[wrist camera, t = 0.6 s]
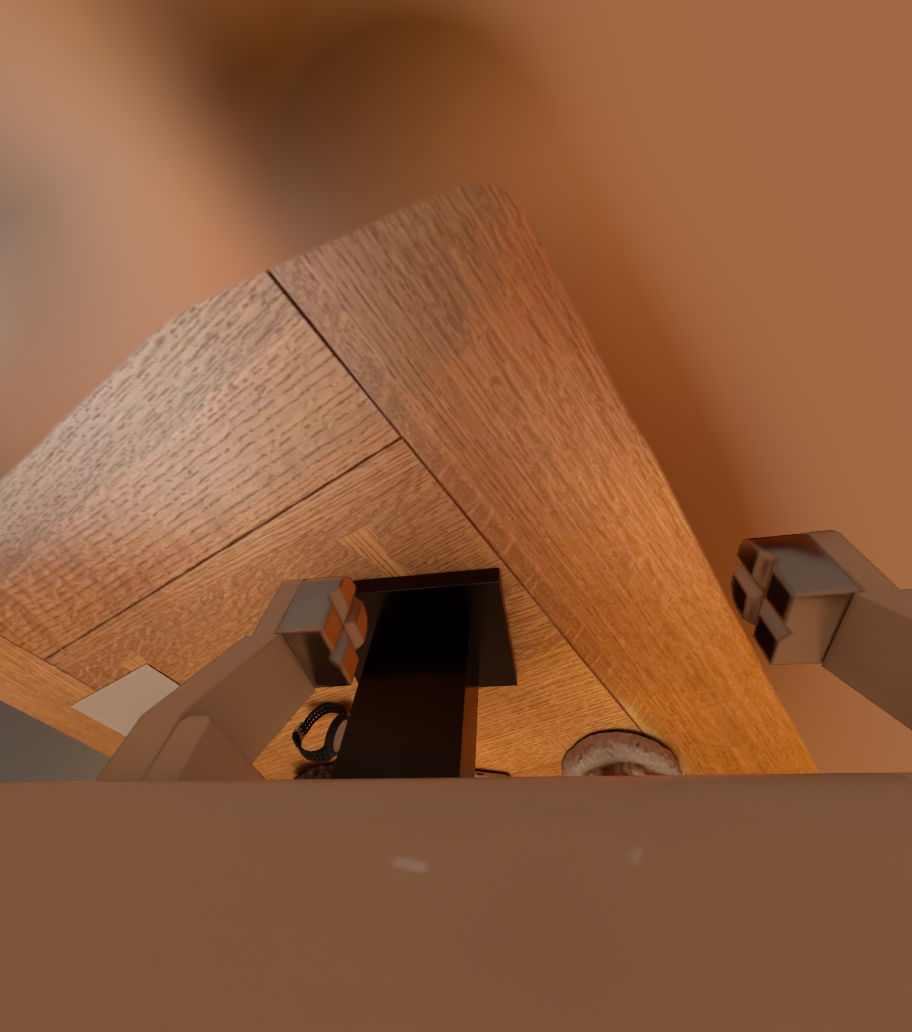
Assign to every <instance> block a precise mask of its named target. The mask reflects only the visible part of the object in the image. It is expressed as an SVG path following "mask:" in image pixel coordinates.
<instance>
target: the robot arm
mask: <svg viewBox="0 0 912 1032" xmlns="http://www.w3.org/2000/svg"><path fill="white" fill-rule="evenodd" d="M737 556H738V557H739V559H740V560H741V562H742V563H743V564H741V565H740V566H739V567H738V568H737V569H736V570H735V571H734V572H733V575H732V581H731V590H732V598H733V601H734V603H735V606H736V609H737V610H738V612H739V614H740V615H741V617H742V618H743V619H745V620H746V621H748V622H749V623H751V624H753V625H754V626H755V630H754V633H753V637H754V639H755V641H756V642H757V644H758V645H759V647H760V649H761V651H762V652H763V654H764V655H765V657H766V659H767V660H768V662H769V664H770V665H785V664H822V667H824V668H825V669H827V670H828V671H829V672H831V673H832V674H834V675H835V676H836V677H838V678H839V679H841V680H842V681H843V682H845V683H846V684H848V685H849V686H850V687H852V688H853V689H855V690H856V691H858V692H859V693H860V694H862V695H863V696H864V697H866V698H867V699H869V700H870V701H871V702H873V703H874V704H876V705H877V706H878V707H880V708H881V709H883V710H884V711H885V712H887V713H888V714H890V715H891V716H892V717H894V718H895V719H897V720H898V721H899V722H901V723H902V724H904V725H905V726H906V727H908V728H909V729H911V730H912V589H905V590H900V589H899V588H898V587H897V586H896V585H895V584H894V583H893V582H892V581H890V580H889V579H888V578H887V577H886V576H885V575H884V574H883V573H882V572H881V571H880V570H879V569H877V567H875V566H874V565H873V564H872V563H871V562H870V561H869V560H868V559H867V558H866V557H865V556H864V555H863V554H862V553H861V552H860V551H859V550H858V549H856V548H855V547H854V546H853V545H852V544H851V543H850V542H849V541H848V540H847V539H846V538H845V537H844V536H843V535H842V534H840V533H839V532H836V531H834V530H825V531H816V532H807V533H801V534H792V535H781V536H771V537H761V538H751V539H744V540H743V541H742V542H741V544H740V545H739V549H738V553H737ZM355 591H356V586H355V584H354V582H353V580H352V578H351V577H349V576H336V577H321V578H307V579H298V580H287V581H285V582H283V583H282V584H281V585H280V587H279V589H278V590H277V592H276V594H275V596H274V597H273V599H272V601H271V603H270V604H269V606H268V608H267V610H266V611H265V613H264V615H263V617H262V618H261V620H260V622H259V624H258V625H257V627H256V629H255V631H254V632H253V634H252V636H245V637H244V638H242V639H241V640H240V641H238V642H237V643H236V644H234V645H233V646H232V647H230V648H229V649H228V650H226V651H225V652H224V653H223V654H221V655H220V656H219V657H217V658H216V659H215V660H213V661H212V662H211V663H209V664H208V665H207V666H205V667H204V668H203V669H201V670H200V671H199V672H198V673H196V674H195V675H194V676H192V677H191V678H190V679H188V680H187V681H186V682H184V683H183V684H182V685H180V686H179V687H178V688H177V689H175V690H174V691H173V692H171V693H170V694H169V695H167V696H166V697H165V698H163V699H162V700H161V701H159V702H158V703H157V704H155V705H154V706H153V707H152V708H150V709H149V710H148V711H146V712H145V713H144V714H142V715H141V716H140V718H139V719H138V721H137V722H136V723H135V725H134V726H133V728H132V729H131V731H130V732H129V733H128V735H127V736H126V738H125V739H124V741H123V742H122V743H121V745H120V746H119V748H118V749H117V751H116V752H115V754H114V755H113V756H112V758H111V759H110V761H109V762H108V764H107V765H106V766H105V768H104V769H103V771H102V772H101V774H100V775H99V777H98V778H97V780H96V781H88V782H87V781H82V782H81V781H80V782H0V1032H912V773H830V774H828V773H827V774H731V775H636V776H547V777H463V778H372V779H280V780H265V778H264V777H263V776H262V775H261V773H260V772H259V771H258V770H257V769H256V768H255V767H254V766H253V765H252V763H253V761H254V760H255V759H256V758H257V757H258V756H259V755H260V753H261V752H262V751H263V750H264V749H265V748H266V746H267V745H268V744H269V743H270V742H271V741H272V739H273V738H274V737H275V736H276V735H277V734H278V733H279V731H280V730H281V729H282V728H283V727H284V726H285V724H286V723H287V722H288V721H289V720H290V719H291V718H292V716H293V715H294V714H295V713H296V712H297V711H298V709H299V708H300V707H301V706H302V705H303V704H304V702H305V701H306V700H307V699H308V698H309V697H310V696H311V694H312V693H313V692H314V691H315V688H320V687H333V686H345V685H351V684H352V681H353V678H354V674H355V671H356V668H357V665H358V661H359V658H358V655H357V653H356V650H357V649H358V648H359V647H360V646H361V645H362V644H363V643H364V641H365V638H366V634H367V622H368V619H367V613H366V609H365V607H364V604H363V602H362V601H360V600H359V599H358V598H356V597H355V596H354V594H355Z"/></svg>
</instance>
